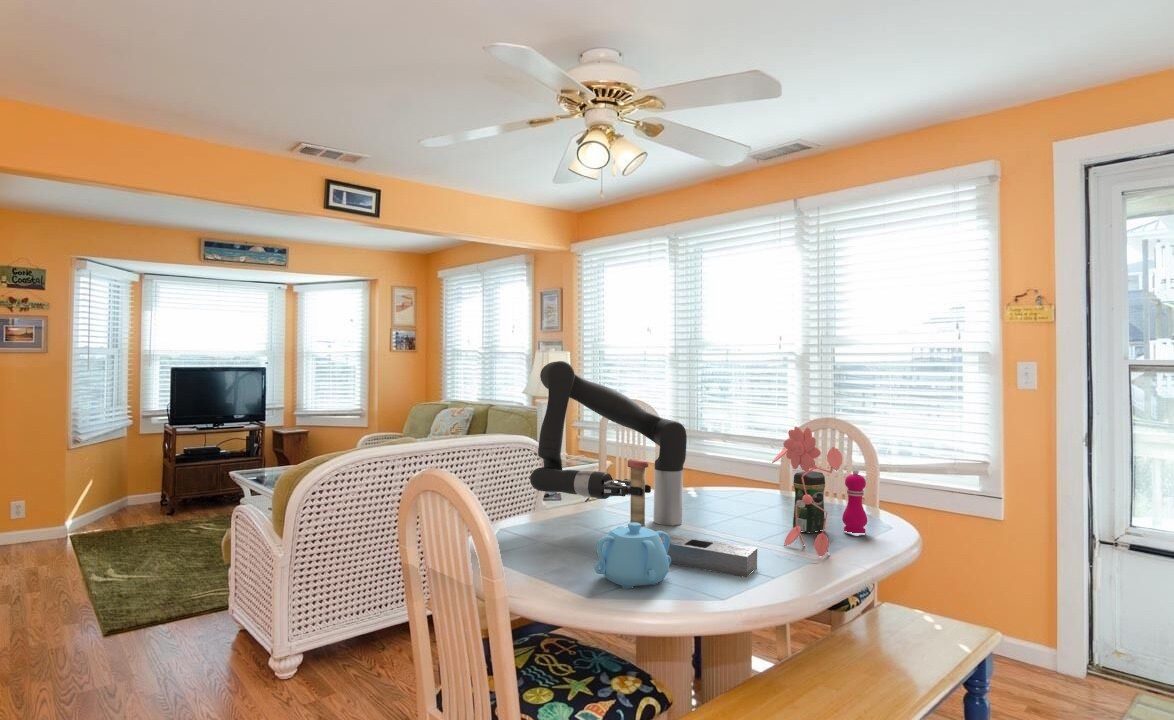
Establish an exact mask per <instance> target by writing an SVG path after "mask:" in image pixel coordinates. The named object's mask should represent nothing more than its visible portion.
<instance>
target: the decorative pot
mask: <svg viewBox="0 0 1174 720" xmlns="http://www.w3.org/2000/svg"><path fill="white" fill-rule="evenodd" d="M668 534H669V533H667V532H665V531H663V530H657V531H655V530H653V529H651V528H648V527H645V526H643V527H641V524H640V523H630V522H629V523H627V527H625V526H617V527H615V528H613V529H611V530H610V531H609V533H608V535H604V536H602V537H600V538H599V540H598V541H597V543H596V552H597V555H598V559H599V561H598V562H596V563H595V565H594V572H595V573H597V574H599V575H603V576H604V577H605V578H606V579H608V581H611V582H612V583H614V584H616V585H619V586H620V585H621V588H622V587H624V588H623V589H625V588H631V589H633V588H634V586H657V585H658V583H660V582H662V581H663V580H664V579H665V578H666V576H667V574H668V573H669V570H670V568H669V567H670V565H671V558H670V556H668V555H667V552H668V549H669V546H670V537H669V535H668ZM659 535H663V536H664V537H665V543H664V545H663V542H662V540H661V538H660V536H659ZM632 587H633V588H632Z"/></svg>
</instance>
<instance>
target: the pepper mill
mask: <svg viewBox="0 0 1174 720" xmlns="http://www.w3.org/2000/svg"><path fill="white" fill-rule="evenodd" d="M844 480H845V481H844V485H845V486H846V488H847V489H846V495H847V498H848V499H847V505H846V507H845V509H844V511H843V513H842V519H841V520H842V522H843V523H842V524H844V527H843V532H844V531H847V532H852V533H865V534H866V528H865V527H866V525H867V524H868V515H867V514H866V511H865V509H864V507H863V506H864V505H863V496H864V495H865V494H864V493H865V491H864V489H865V488H866V486H867V484H866V483H867V482H866V479H865V478H864V476H863V475H861V474H860V473H859V469H855V468H854V469H853V470H852V474H849V475H847V476H846V478H845V479H844Z"/></svg>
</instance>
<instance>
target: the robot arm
mask: <svg viewBox="0 0 1174 720" xmlns="http://www.w3.org/2000/svg"><path fill="white" fill-rule="evenodd" d="M539 375H540V377H539V378H540V381H541V383H542V385H543V387H545V388H546V389H547V392H548V393H547V394H548V396H547V405H546V409H545V410H546V411H545V414H544V417H543V420H542V424H541V428H540V432H539V439H538V446H537V447H538V449H537V456H538V457H539V458H540V459H542V461H543V462H542V463H543V466H542V467H537V468H535V469H534V470H532V472H531V474H530V476H529V482H530V485H531V487H532V488H533V489H535V490H536V491H538V492H545V493H550V492H551V493H564V494H569V495H578V496H582V497H585V498H593V499H594V498H595V499H602V500H607V499H608V498H610V496H611V497H613V496H614V497H623V498H624V497H626V496H627V497H629V496H631V495H637V496H643V495H644V488H642V487H633V486H632V487H631V479H628V478H625V479H621V478H615V479H613V477H612V475H611V474H610V473H609V472H605V471H595V470H577V469H576V470H575V469H564V470H563V464H562V455H561V453H562V445H563V437H564V429H565V428H564V427H565V421H566V416H567V409H568V404H569V399H571V400H574V401H576V402H578V403H579V404H581V405H583V406H584V407H586V408H587V409H589V410H591V411H593V412H594V413H596V414H597V415H599V416H601V417H603V418H605V419H607V420H609V421H611V422H613V423H615V424H617V425H619V426H622V427H625V428H628V429H630V430H633V431H634V432H638V433H639V434H642V436H644V437H646V438H647V439H649V440H650V441H651V442H653V443H654V444H656V445H657V446H659V451H658V452H659V454H658V457H657V459H655V460H654V471H653V472H654V474H653V477H654V478H653V479H654V480H653V482H654V483H653V486H654V487H653V523H655V524H657V525H661V526H678V525H681V524H683V493H684V492H683V491H684V490H683V489H684V488H683V487H684V482H683V481H684V464H685V462H686V459H687V458H686V456H687V443H688V439H687V438H688V437H687V430H686V427H685V426H684V424H683V423H681V422H679V421H676V420H673V419H668V418H663V417H660V416H658V415H657V414H654V413H651V412H649V411H647V410H645V409H644V408H643V407H641V405H639V404H638V403H637V402H635V401H634V400H633V399H632V398H631V397H629V396H628V395H625V394H623V393H621V392H619V391H617V390H616V389H614V388H611V387H609V386H605V385H602V384H599V383H597V382H592V381H590V380H588V379H587V380H586V379H585V378H582V377H581V376H579V375H578V374H577V373H575V369H574V368H573V366H572V365H571V364H570V363H568V361H567V362H566V361H564V360H559V361H551V362H549V363H547V364H545V365H544V366H543V368H541V370H540V374H539ZM651 491H652V486H651V484H646V483H645V494H650V493H651Z"/></svg>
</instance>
